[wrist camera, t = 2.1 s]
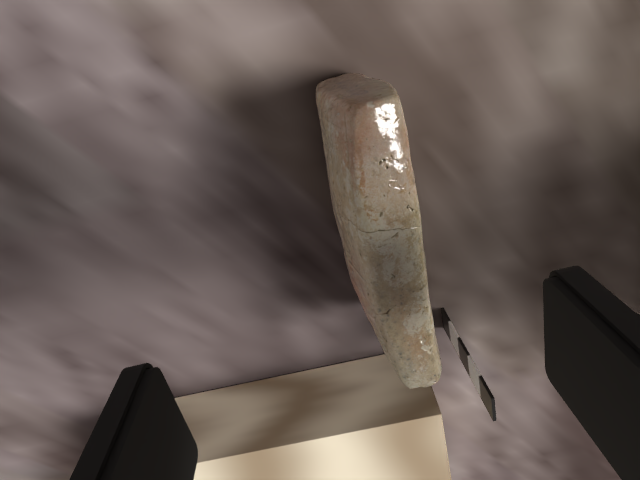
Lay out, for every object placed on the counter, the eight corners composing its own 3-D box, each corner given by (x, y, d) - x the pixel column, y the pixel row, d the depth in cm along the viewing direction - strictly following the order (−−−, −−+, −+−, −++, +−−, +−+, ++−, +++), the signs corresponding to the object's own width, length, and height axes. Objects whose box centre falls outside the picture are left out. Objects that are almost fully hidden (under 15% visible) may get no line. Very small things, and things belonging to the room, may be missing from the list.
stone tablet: (497, 423, 16) (467, 74, 11) (393, 448, 16) (311, 115, 11) (444, 324, 22) (405, 54, 16) (364, 343, 22) (300, 82, 16)
